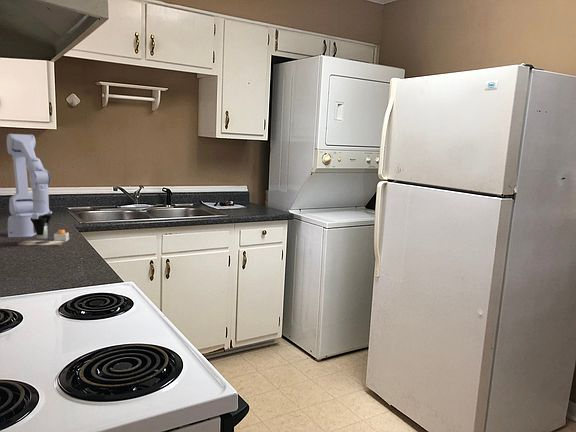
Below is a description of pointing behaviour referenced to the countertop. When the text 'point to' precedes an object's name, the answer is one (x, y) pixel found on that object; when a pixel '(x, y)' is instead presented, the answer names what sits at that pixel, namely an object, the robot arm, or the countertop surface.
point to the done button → (61, 231)
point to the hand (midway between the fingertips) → (41, 233)
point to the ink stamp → (45, 234)
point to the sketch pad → (41, 243)
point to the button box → (61, 237)
